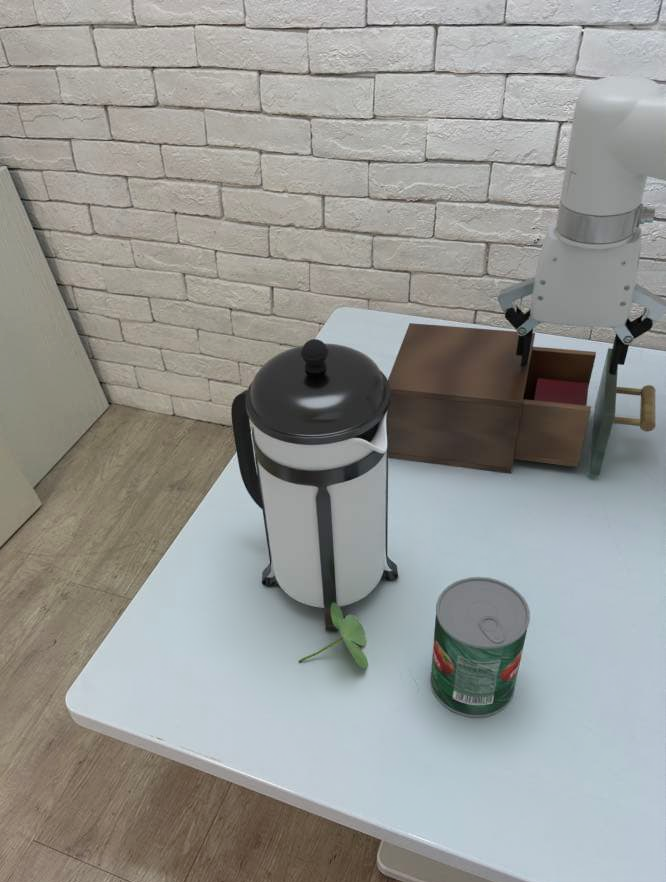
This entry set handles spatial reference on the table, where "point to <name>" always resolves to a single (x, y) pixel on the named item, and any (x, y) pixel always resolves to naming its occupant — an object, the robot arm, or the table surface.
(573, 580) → the table surface
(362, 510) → the coffee press
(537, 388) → the maroon rectangular block
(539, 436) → the drawer
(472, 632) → the canned tomato
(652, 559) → the table surface
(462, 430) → the cabinet
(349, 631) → the seedling
